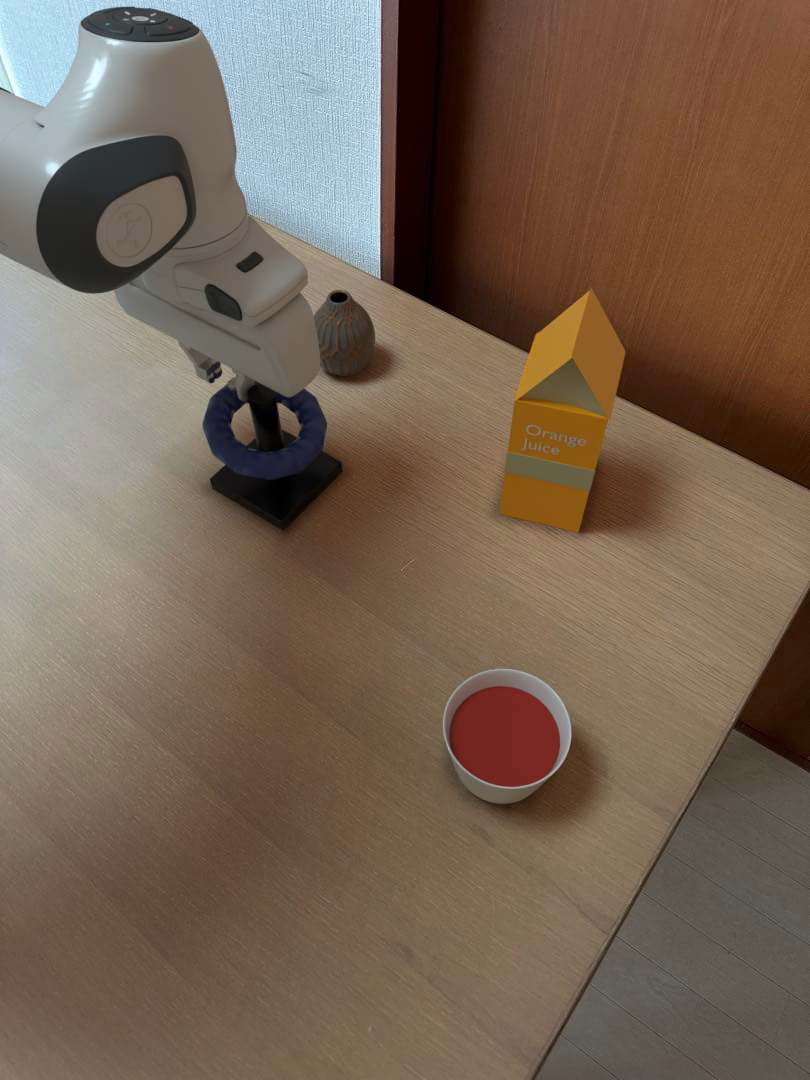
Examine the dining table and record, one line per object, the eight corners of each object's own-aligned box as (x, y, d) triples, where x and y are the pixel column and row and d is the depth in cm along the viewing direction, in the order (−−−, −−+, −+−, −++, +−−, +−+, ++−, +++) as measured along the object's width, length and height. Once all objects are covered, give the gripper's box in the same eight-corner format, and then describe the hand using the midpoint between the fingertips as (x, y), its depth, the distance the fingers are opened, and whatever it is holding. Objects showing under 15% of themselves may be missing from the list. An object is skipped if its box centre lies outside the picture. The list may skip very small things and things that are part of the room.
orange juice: (497, 514, 78) (519, 346, 62) (518, 448, 83) (543, 277, 67) (580, 533, 76) (625, 367, 60) (596, 465, 81) (641, 294, 65)
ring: (271, 505, 72) (272, 491, 70) (178, 433, 74) (177, 418, 72) (348, 432, 77) (351, 417, 75) (260, 366, 79) (261, 349, 77)
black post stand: (283, 531, 77) (265, 445, 68) (212, 489, 80) (185, 401, 71) (343, 471, 81) (334, 383, 72) (273, 433, 84) (256, 344, 75)
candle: (462, 691, 67) (466, 652, 62) (571, 729, 65) (585, 692, 60) (423, 793, 62) (424, 760, 57) (540, 838, 60) (552, 808, 55)
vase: (353, 393, 88) (348, 326, 81) (300, 371, 90) (290, 304, 83) (388, 356, 91) (386, 289, 84) (336, 335, 93) (330, 268, 86)
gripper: (69, 223, 65) (119, 360, 76) (268, 319, 58) (291, 454, 69) (129, 187, 68) (168, 324, 79) (324, 274, 61) (338, 410, 72)
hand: (227, 385), depth 74 cm, fingers open, 3 cm apart
